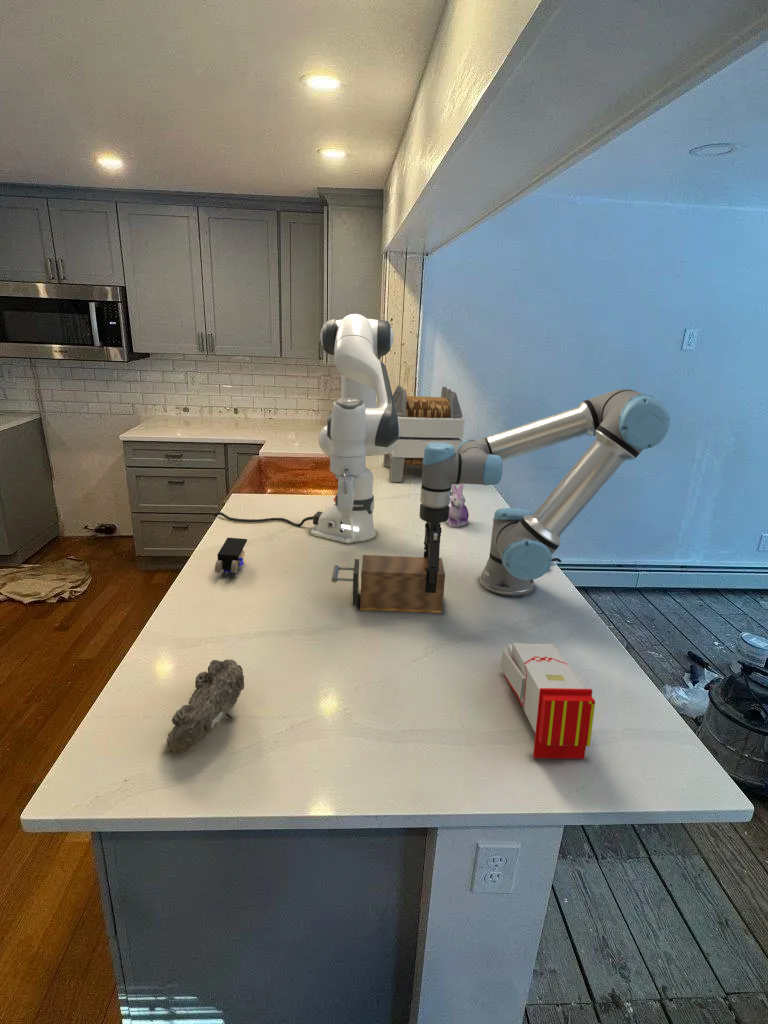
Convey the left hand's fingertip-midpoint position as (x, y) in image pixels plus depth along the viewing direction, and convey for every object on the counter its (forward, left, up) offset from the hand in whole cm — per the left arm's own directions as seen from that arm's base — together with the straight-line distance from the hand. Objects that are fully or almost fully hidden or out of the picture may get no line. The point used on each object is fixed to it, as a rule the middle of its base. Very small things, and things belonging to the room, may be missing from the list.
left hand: (346, 516), depth 146 cm
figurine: (+20, +69, -24) cm, 76 cm away
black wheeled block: (-37, +5, -24) cm, 44 cm away
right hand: (+22, +6, -18) cm, 28 cm away
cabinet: (+15, +4, -24) cm, 28 cm away
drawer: (+9, +2, -23) cm, 25 cm away
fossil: (-8, -53, -24) cm, 58 cm away
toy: (+52, -30, -24) cm, 64 cm away
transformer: (-8, +131, -24) cm, 133 cm away
